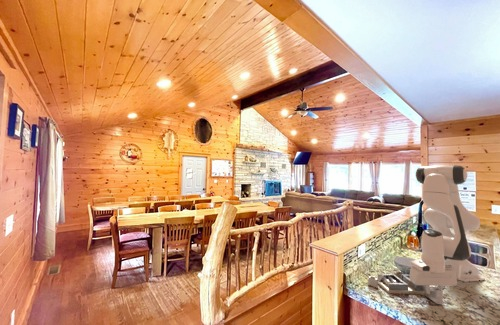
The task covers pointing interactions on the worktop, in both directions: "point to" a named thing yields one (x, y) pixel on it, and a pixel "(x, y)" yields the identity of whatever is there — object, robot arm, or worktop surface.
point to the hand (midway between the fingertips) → (433, 293)
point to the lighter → (375, 280)
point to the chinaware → (403, 264)
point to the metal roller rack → (400, 284)
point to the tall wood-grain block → (435, 295)
